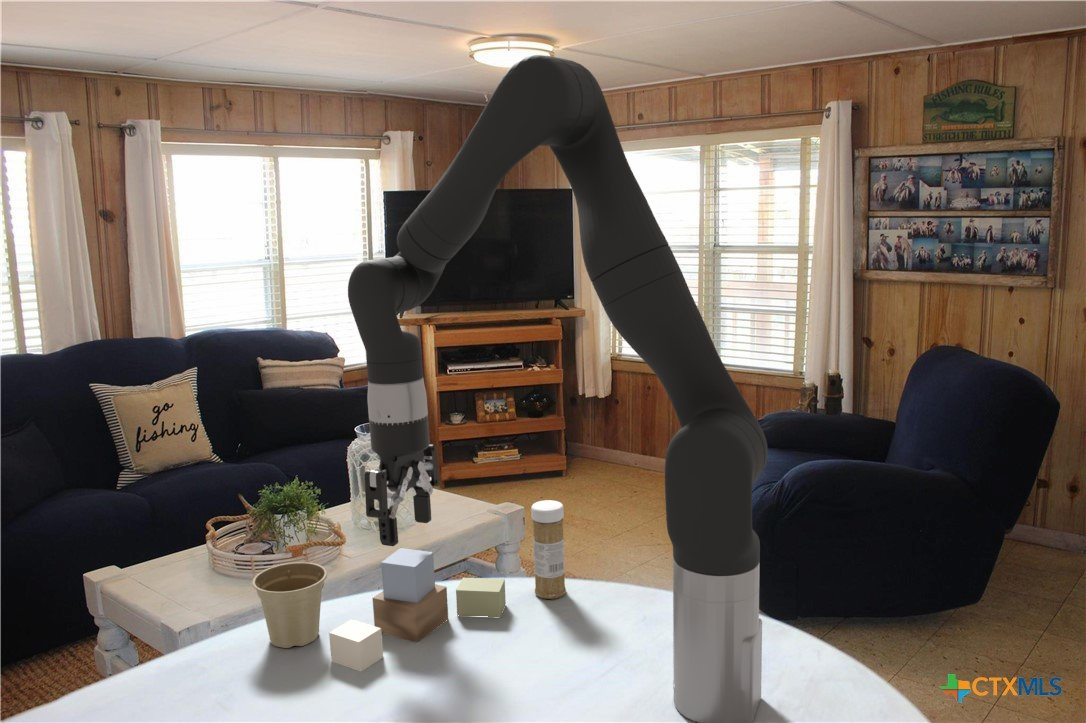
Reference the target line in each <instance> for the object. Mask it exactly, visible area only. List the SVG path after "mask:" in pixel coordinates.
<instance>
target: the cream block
mask: <svg viewBox="0 0 1086 723" xmlns="http://www.w3.org/2000/svg"><path fill="white" fill-rule="evenodd" d="M382 634H383V633H381V628H378V627H375V625H372V624H369V623H365V622H362V621H360V620H356V619H352V618H351V619H350V620H348V621H347V622H345V623H343V624H342V625H339V626H338V627H336V628H334V629H332V630H331V631H330V632H328V636H329V637H328V638H329V650H330V659H331V662H333V663H335V664H338V665H341V666H344V667H347V668H350V669H352V670H355V671H358V672H362V671H364V670H366V669H367V668H368V667H370V666H372V665H373V664H375V663H376V662H378V661H380V660H381V659H382V658H384V649H383V637H382V636H383V635H382Z"/></svg>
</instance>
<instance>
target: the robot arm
mask: <svg viewBox="0 0 1086 723" xmlns="http://www.w3.org/2000/svg"><path fill="white" fill-rule="evenodd" d="M597 80H598V79H596V77H595V76H594V75H593V73H592V72H591V71H590V70H589V69H587V68H586V67H585V66H584V65H582V64H580V63H578V62H577V61H575V60H571V59H566V58H562V57H561V58H560V57H556V56H551V55H550V56H549V55H541V54H534V55H529V56H526V57H523V58H520V59H519V60H517V61H516V62H515V63H513V64H512V65H511V66H510V67H509V68H508V69H507V71H506V72H505V74H504V75H503V76H502V78H501V79H500V81H499V83H498V84H497V86H496V87H495V88H494V91H493V93H492V94H491V96H490V98H489V99H488V102H487V103H486V105H485V106H484V109H483V110H482V112H481V114H480V116H479V117H478V119H477V121H476V122H475V124H474V126H473V127H472V129H471V131H470V132H469V134H468V136H467V138H466V139H465V140H464V142H463V144H462V145H461V147H460V149H459V150H458V152H457V154H455V155H456V156H455V157H454V159H453V160H452V162H451V163H450V165H449V166H448V167H447V169H446V170H445V172H444V173H443V174H442V176H441V177H440V178H439V180H438V181H437V183H436V184H435V185H434V187H433V188H432V189H431V190H430V192H429V193H428V194H427V195H426V197H425V198H424V199H423V200H422V201H421V202H420V203H419V205H418V206H417V207H416V208H415V209H414V210H413V212H412V213H411V214H410V215H409V217H408V218H407V219H406V220H405V222H404V223H403V224H402V226H400V229H399V231H398V233H397V237H396V244H397V248H398V250H399V251H398V253H397V254H395V255H394V256H391V257H383V258H376V259H368V260H365V261H362V262H360V263H358V264H357V265H356V266H355V267H354V268H353V270H352V272H351V273H350V276H349V280H348V282H347V283H348V284H347V298H348V304H349V307H350V310H351V313H352V316H353V318H354V322H355V324H356V327H357V330H358V334H359V336H360V339H361V341H362V344H363V346H364V349H365V350H364V351H365V361H366V373H367V408H368V409H367V411H368V412H367V413H368V422H369V424H368V425H369V436H370V449H371V451H373V453H375V454H377V456H378V457H379V467H378V469H375V470H370V469H367V470H365V472H364V476H363V477H364V493H365V497H364V498H365V513H366V514H365V515H366V517H368V518H375V519H377V520H378V530H379V532H378V534H379V540H380V543H381V545H382V546H387V547H395V546H396V545H398V544H399V532H398V520H397V513H398V512H397V511H398V510H399V505H400V503H402V502H403V501H404V499H405V496H406V493H407V492H408V491H409V490H410V489H411V490H412V492H413V494H414V495H413V496H412V498H413V499H412V500H413V511H414V521H415V522H416V523H422V524H428V523H429V522H431V521H432V506H431V495H433V491H434V487H439V484H440V477H439V466H438V457H437V456H438V455H437V446H436V445H435V444H430V443H431V442H430V441H431V440H430V439H431V438H430V427H429V426H430V425H429V414H428V413H429V412H428V411H429V410H428V398H427V391H426V386H425V380H424V379H425V378H424V368H423V366H424V365H423V355H422V352H423V351H422V345H421V341H420V339H419V337H418V336H417V335H416V333H413V332H410V331H406V330H405V331H403V330H402V327H401V325H400V322H399V319H398V313H402V312H403V313H405V312H409V311H412V310H413V309H416V308H417V307H419V306H421V305H422V304H423V303H424V302H425V301H426V300H427V299H428V298H429V297H430V296H431V294H432V293H433V291H434V290H435V287H436V285H437V283H438V282H439V281H440V278H441V277H442V274H443V273H444V272H443V271H444V270H445V267H446V265H447V263H449V262H450V261H451V260H452V259H453V257H455V255H456V254H457V253H458V252H459V251H460V250H461V249H462V248H463V246H465V244H466V243H467V242H468V241H469V240H470V239H471V238H472V237H473V235H474V233H476V232H477V230H478V228H479V227H480V226H481V224H482V222H483V220H484V218H485V216H486V215H487V212H488V209H489V208H490V205H491V202H492V200H493V196H494V195H495V192H496V190H497V189H498V187H499V185H500V184H501V182H502V181H503V180H504V178H505V177H506V176H507V175H508V174H509V173H510V171H511V170H512V169H513V168H514V167H515V166H516V165H517V164H518V163H519V162H521V161H522V160H523V159H524V158H525V157H526V156H528V155H529V154H530V153H531V152H533V151H534V150H535V149H536V148H538V147H540V146H542V147H543V146H546V147H549V148H550V150H551V151H552V152H553V154H554V156H555V158H556V159H557V161H558V163H559V165H560V166H561V169H562V171H563V173H564V175H565V177H566V179H567V181H568V183H569V185H570V187H571V190H572V192H573V195H574V199H575V203H576V207H577V216H578V224H579V226H578V227H579V238H580V246H581V247H580V248H581V254H582V259H583V262H584V267H585V269H586V273H587V275H588V277H589V279H590V282H591V284H592V286H593V288H594V291H595V293H596V295H597V297H598V299H599V301H600V304H601V306H602V308H603V310H604V312H605V314H606V315H607V318H608V319H609V321H610V323H611V324H612V325H613V328H614V329H615V330H616V331H617V332H618V333H619V335H620V336H621V337H622V338H623V340H624V341H625V342H626V343H627V344H628V345H629V346H630V348H632V350H633V351H634V352H635V353H636V354H637V355H638V356H639V358H641V359H642V360H643V361H644V362H645V364H647V366H648V367H649V368H650V369H651V370H652V371H653V373H654V374H655V376H656V377H657V378H658V380H659V381H660V383H661V385H662V386H663V388H664V390H665V392H666V394H667V396H668V398H669V401H670V402H671V404H672V407H673V410H674V412H675V415H676V418H677V420H678V422H679V425H680V427H681V428H680V429H679V430H678V431H677V432H676V433H675V434H674V435H673V436H672V437H671V440H670V441H669V444H668V447H667V450H666V455H665V461H664V492H665V493H664V495H665V499H664V500H665V516H666V529H667V534H668V538H669V539H670V542H671V544H672V577H673V578H672V581H673V582H672V589H673V590H672V598H673V599H672V601H673V602H672V603H673V604H672V605H673V606H672V608H673V610H672V613H673V614H672V616H673V617H672V618H673V619H672V620H673V621H672V622H673V624H672V628H673V629H672V631H673V632H672V636H673V637H672V638H673V646H672V647H673V649H672V650H673V660H672V661H673V663H672V664H673V666H672V667H673V680H672V681H673V682H672V687H673V688H672V690H673V704H674V706H675V708H676V710H678V712H679V713H680V714H681V715H682V716H684V717H685V718H687V719H688V720H691V721H693V722H697V723H754V721H755V718H756V714H757V712H758V708H759V704H760V701H761V698H762V670H763V669H762V666H763V665H762V664H763V662H762V660H763V659H762V658H763V656H762V655H763V620H762V619H761V618H760V566H761V565H760V560H761V557H760V556H761V555H760V554H761V552H760V551H761V544H760V543H761V541H760V538H759V535H758V533H757V532H755V530H754V529H753V484H754V483H755V482H756V481H757V480H758V479H759V477H760V476H761V474H762V473H763V472H764V469H765V467H766V466H767V462H768V461H767V460H768V442H767V438H766V436H765V433H764V431H763V429H762V428H763V427H762V426H761V425H760V422H759V421H758V419H757V418H756V416H755V415H754V412H753V411H752V410H751V407H750V406H749V405H748V403H747V401H746V400H745V398H744V397H743V395H742V393H741V391H740V390H739V388H738V387H737V384H736V382H734V379H733V378H732V377H731V375H730V373H729V371H728V370H727V368H726V366H725V365H724V363H723V361H722V359H721V357H720V355H719V353H718V351H717V348H716V346H715V345H714V341H713V339H712V337H711V335H710V332H709V330H708V327H707V325H706V323H705V321H704V319H703V317H702V313H701V312H700V310H699V307H698V306H697V303H696V301H695V298H693V295H692V293H691V290H690V288H689V286H688V284H687V281H686V279H685V277H684V274H683V271H682V269H681V267H680V265H679V263H678V261H677V259H676V257H675V255H674V253H673V250H672V248H671V245H670V246H669V242H668V240H667V239H666V237H665V234H664V233H663V231H662V228H661V227H660V225H659V223H658V221H657V219H656V217H655V215H654V213H653V211H652V208H651V206H650V204H649V202H648V201H647V198H646V196H645V194H644V192H643V190H642V188H641V186H640V184H639V182H638V181H637V178H636V177H635V174H634V173H633V171H632V169H631V167H630V166H631V165H630V164H629V161H628V160H627V157H626V154H625V151H624V149H623V146H622V143H621V141H620V138H619V134H618V132H617V129H616V126H615V124H614V121H613V118H612V115H611V113H610V109H609V106H608V104H607V101H606V97H605V95H604V93H603V90H602V88H601V86H600V84H599V82H598V81H597ZM427 471H429V472H430V476H429V474H428V472H427ZM388 490H389V491H390V492H388ZM375 500H377V503H376V506H375ZM388 501H389V502H390V505H389V504H388ZM388 506H389V508H388Z"/></svg>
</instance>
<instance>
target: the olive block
mask: <svg viewBox="0 0 1086 723" xmlns="http://www.w3.org/2000/svg"><path fill="white" fill-rule="evenodd" d="M455 597H456V615H457V616H458V615H459V616H488V617H500V616H501V617H502V615H503V613H502V611H503V612H504V610H505V608H504V607H506V606H505V604H507V603H506V602H507V601H506V600H507V599H506V598H507V597H506V579H505V578H504V579H503V578H484V577H483V578H481V577H477V578H476V577H462V578H461V580H460V582H459V583H458V586H457V587H456V590H455ZM503 609H504V610H503ZM501 614H502V615H501Z"/></svg>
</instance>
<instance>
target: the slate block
mask: <svg viewBox="0 0 1086 723" xmlns="http://www.w3.org/2000/svg"><path fill="white" fill-rule="evenodd" d="M380 564H381V565H380V566H381V576H382V577H381V578H382V579H381V580H382V592H383V595H384V598H387V599H394V600H400V601H407V602H413V603H418V602H419V601H420V600H421V599H422V598H423V597H424V596H426V595H427V594H428V593H429V592H430V591H431V590H432V589H434V588H435V584H436V582H435V581H436V579H435V562H434V552H433V551H426V550H420V549H419V550H418V549H410V548H402V547H400V548H398V549H397V550H396V551H394V552H393V553H392V554H390V555H389V556H388V557H386V558H384V560H382V561H381V563H380Z"/></svg>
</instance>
